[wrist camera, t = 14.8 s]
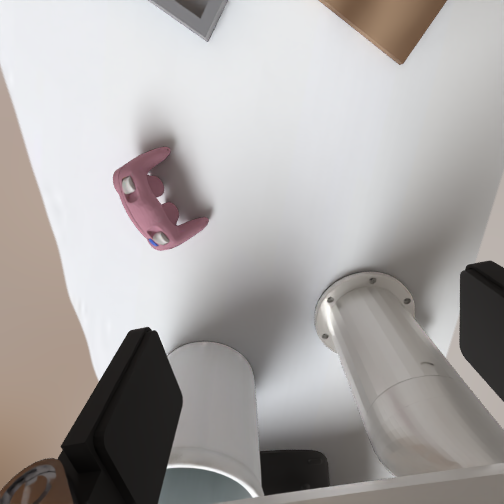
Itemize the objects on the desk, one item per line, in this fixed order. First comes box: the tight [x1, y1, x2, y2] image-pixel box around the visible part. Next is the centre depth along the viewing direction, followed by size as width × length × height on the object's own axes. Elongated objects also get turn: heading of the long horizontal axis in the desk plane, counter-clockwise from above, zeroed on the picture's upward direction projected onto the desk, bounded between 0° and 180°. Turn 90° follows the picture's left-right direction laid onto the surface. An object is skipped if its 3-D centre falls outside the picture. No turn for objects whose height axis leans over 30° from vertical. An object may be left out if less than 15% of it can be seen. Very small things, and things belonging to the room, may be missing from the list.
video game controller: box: [113, 147, 209, 251], centre depth 34 cm, size 10×5×7 cm, turn 25°
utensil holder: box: [158, 342, 264, 504], centre depth 39 cm, size 15×15×18 cm
